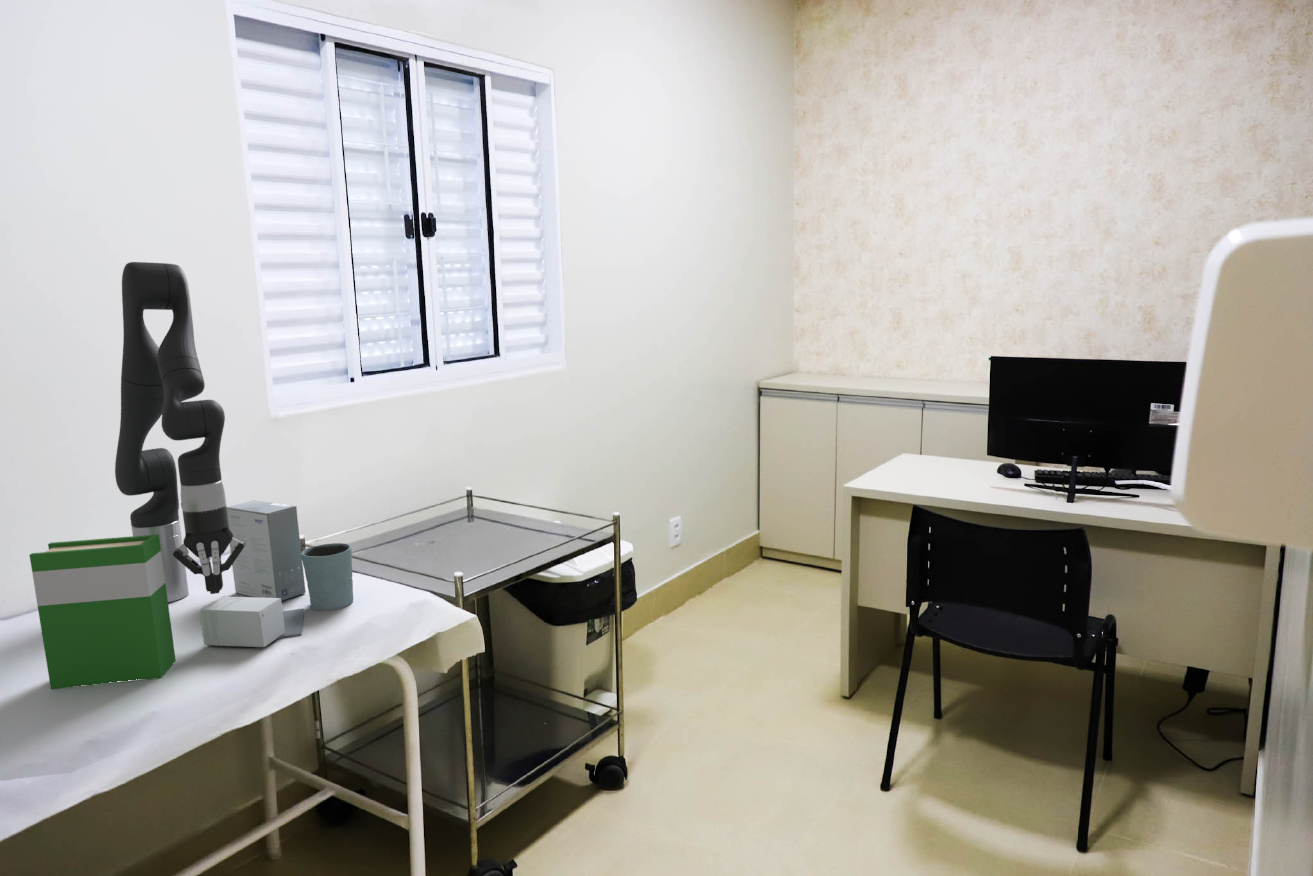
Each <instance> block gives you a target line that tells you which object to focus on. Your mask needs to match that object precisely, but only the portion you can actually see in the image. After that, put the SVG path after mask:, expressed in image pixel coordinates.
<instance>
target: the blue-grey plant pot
mask: <svg viewBox="0 0 1313 876" xmlns="http://www.w3.org/2000/svg"><path fill="white" fill-rule="evenodd" d="M352 555H353V554H352V545H351V544H349V543H340V542H338V543H334V542H333V543H325V544H319V545H314V546H310V547H308V548H305V549H304V550H301V556H302V563H303V571H304V575H305V580H306V583H307V589H308V595H309V602H310V606H311V609H312V610H316V611H321V610H325V611H327V610H328V611H334V610H339V609H338V608H340V609H343V608H346V607H349V606H350V605H351V604H353V602H354V587H353V586H354V585H353V584H354V582H353V558H352ZM349 604H350V605H349Z"/></svg>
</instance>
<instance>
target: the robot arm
mask: <svg viewBox="0 0 1313 876" xmlns="http://www.w3.org/2000/svg"><path fill="white" fill-rule="evenodd" d="M121 275H122V276H121V302H122V323H123V324H122V325H123V326H122V327H123V343H122V358H121V359H122V361H121V374H120V375H121V377H120V422H119V423H120V424H119V432H118V433H119V435H118V441H117V448H116V456H115V461H114V462H115V463H114V466H115V467H114V476H115V477H114V478H115V481H116V482H115V483H116V486H117V488H118V490H119V492H121V494H123V495H125V496H138V495H139V496H140V495H143V494H150V493H153V494H152V496H151V497H150V499H149V500H147V501H146V502H145V503H144V504H142V505H141V506H139V507H138V508H136V509H134V510H133V511H132V512H131V513H130V518H129V519H130V525H131V526H130V527H131V534H132V536H144V535H157V534H159V540H160V547H161V554H162V562H163V569H164V577H165V584H166V592H167V599H168V603H171V602H175V601H178V600H181V599H183V598H186V597H187V596H188V595H189V594H190V593H189V592H190V591H189V585H188V578H187V570H186V569H188V570H189V571H190V572H191V573H192V574H194V575H202V576H203V577H204V583H205V590H206V592H208V593H210V595H214V594H220V591H222V590H223V587H224V582H223V574H222V573H223V572H226V571H228V570H229V569H230V568H231V567H232V564H233V563H234V561H235V560H236V558H237V557H238V555H239V554H240V553H241V551H242V550H243V548H244V546H245V542H244V541H239V540H237V539H235V538H233V534H232V532H231V531H230V529H229V524H228V515H227V507H228V506H227V500H226V493H225V487H224V485H223V481H222V480H223V479H222V478H223V477H222V471H221V463H220V461H221V460H220V452H221V442H222V437H223V432H224V427H225V421H226V420H225V419H226V417H225V415H226V414H225V411H224V408H223V407H222V405H221V404H220V403H219V402H217V400H214V399H201V400H192V401H188V400H189V399H192V398H195V397H197V396H199V395H201V394H202V393H203V392H204V389H205V384H206V383H205V379H204V376H203V372H202V368H201V364H200V361H199V358H198V354H197V349H196V344H195V335H194V324H193V323H194V322H193V313H192V305H191V297H190V289H189V283H188V280H187V279H188V278H187V276H186V273H185V271H184V269H183V268H182V267H181V266H180V265H179V264H175V263H174V264H173V263H165V262H146V261H145V262H143V261H141V262H140V261H131V262H128V263H126V264H125V265H124V268H123V270H122V274H121ZM145 310H146V311H147V310H152V311H153V310H154V311H155V310H159V311H160V310H162V311H163V310H164V311H169V310H170V311H172V322H171V325H170V326H169V329H168V331H167V333H166V334H165V336H164V338H163V339H162V341H161V343H160V345H159V346H158V344H157V343H156V342H155V339H153V337H152V336H151V334H150V332H149V330H148V329H147V327H146V324H145V319H144V311H145ZM186 400H187V401H186ZM160 418H161V428H162V432H163V433H164V434H165V436H167V438H169V439H170V440H172V441H178V442H179V441H187V440H188V441H189V440H194V439H195V440H196V439H203V438H204V440H203V442H202V443H201V445H200V446H199V447H197V448H194V449H192V450H189V451H185V452H183V453H181V454H180V455H179V456H178V457H177V466H178V467H177V466H176V461H175V459H174V457H173V455H172V453H171V452H170V450H168V449H167V448H164V447H157V448H151V449H144V450H143V447H144V444H145V441H146V438H147V437H148V434H149V433H150V431H151V430H152V428H153V427H154V426H155V425H156V423H157V422H158V421H159V420H160ZM177 468H178V473H177ZM178 474H179V475H178ZM178 476H179V482H180V498H179V492H178V491H179V489H178ZM179 499H180V500H179ZM179 501H180V502H179ZM180 506H181V509H182V517H183V524H184V533H185V534H184V538H182V531H181V523H180V515H179V509H180ZM230 543H231V545H232V546H231V550H232V553H231V552H230V554H229V556H228V558H227V559H226V560H225V562H223V563H222V555H223V554H224V553H225V552H226V550H227V548H228V547H229V546H230ZM231 550H230V551H231ZM190 552H191V553H192V554H193V555H194V556H195V557H197V558H198V559H199V562H200V564H199V562H198V561H196V560H195V559H194V558H192V557H191V556H190V555H189V554H190Z"/></svg>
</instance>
